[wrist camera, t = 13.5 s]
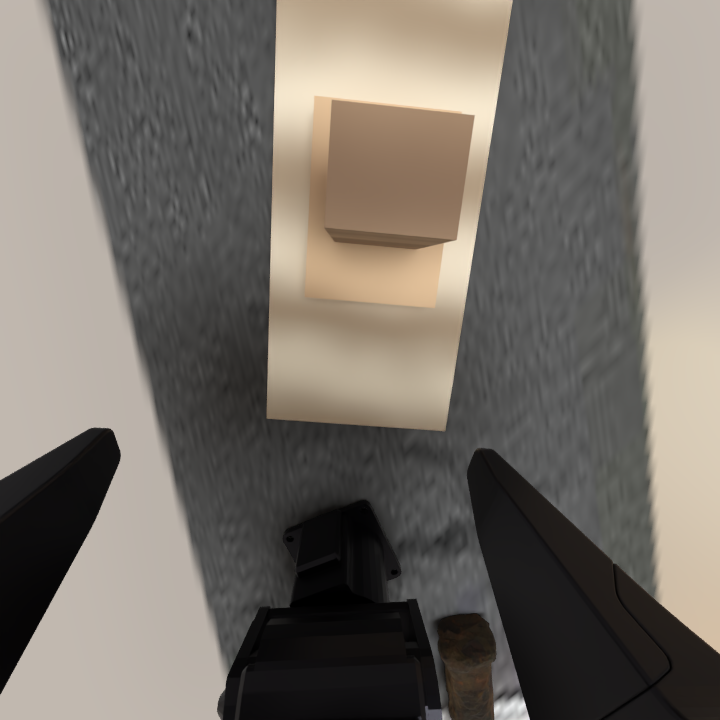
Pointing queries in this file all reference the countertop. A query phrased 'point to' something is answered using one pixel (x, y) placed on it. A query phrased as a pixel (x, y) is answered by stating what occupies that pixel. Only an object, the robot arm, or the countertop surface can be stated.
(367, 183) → the block
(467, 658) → the hand tool
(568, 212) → the countertop surface
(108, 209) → the countertop surface
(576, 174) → the countertop surface
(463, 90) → the board
